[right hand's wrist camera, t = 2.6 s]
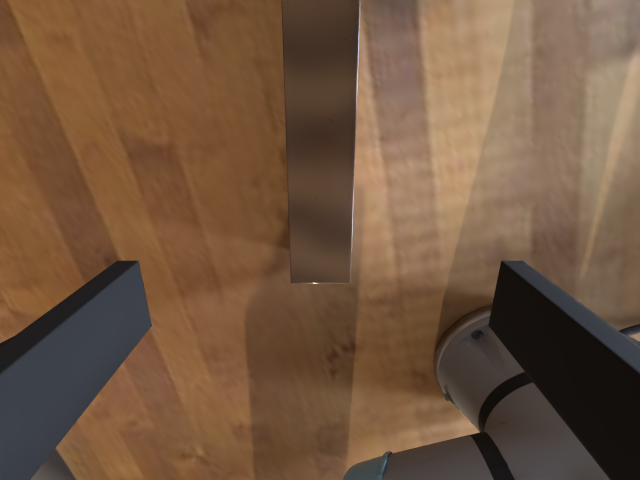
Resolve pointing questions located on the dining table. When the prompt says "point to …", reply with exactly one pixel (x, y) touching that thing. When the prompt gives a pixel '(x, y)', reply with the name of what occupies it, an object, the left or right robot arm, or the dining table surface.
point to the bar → (320, 135)
